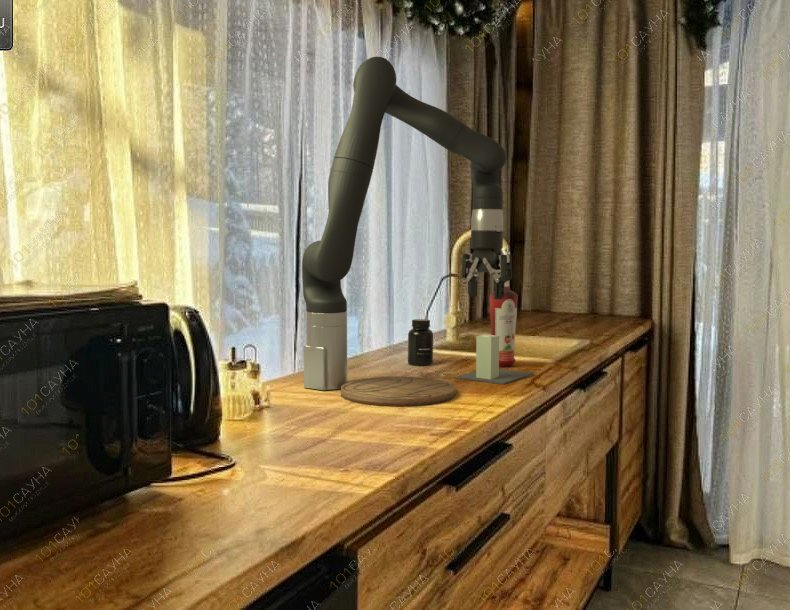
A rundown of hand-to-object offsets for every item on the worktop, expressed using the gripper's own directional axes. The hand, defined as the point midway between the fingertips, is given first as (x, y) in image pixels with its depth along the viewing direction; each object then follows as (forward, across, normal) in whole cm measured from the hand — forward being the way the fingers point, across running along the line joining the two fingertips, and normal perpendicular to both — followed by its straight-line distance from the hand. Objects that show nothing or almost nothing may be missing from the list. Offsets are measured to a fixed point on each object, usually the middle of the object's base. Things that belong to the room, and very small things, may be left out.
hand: (485, 297), depth 179 cm
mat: (+20, -2, +6) cm, 21 cm away
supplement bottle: (+20, -27, +3) cm, 34 cm away
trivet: (+21, -1, -26) cm, 33 cm away
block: (+19, -1, +2) cm, 19 cm away
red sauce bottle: (+20, -11, +19) cm, 29 cm away
